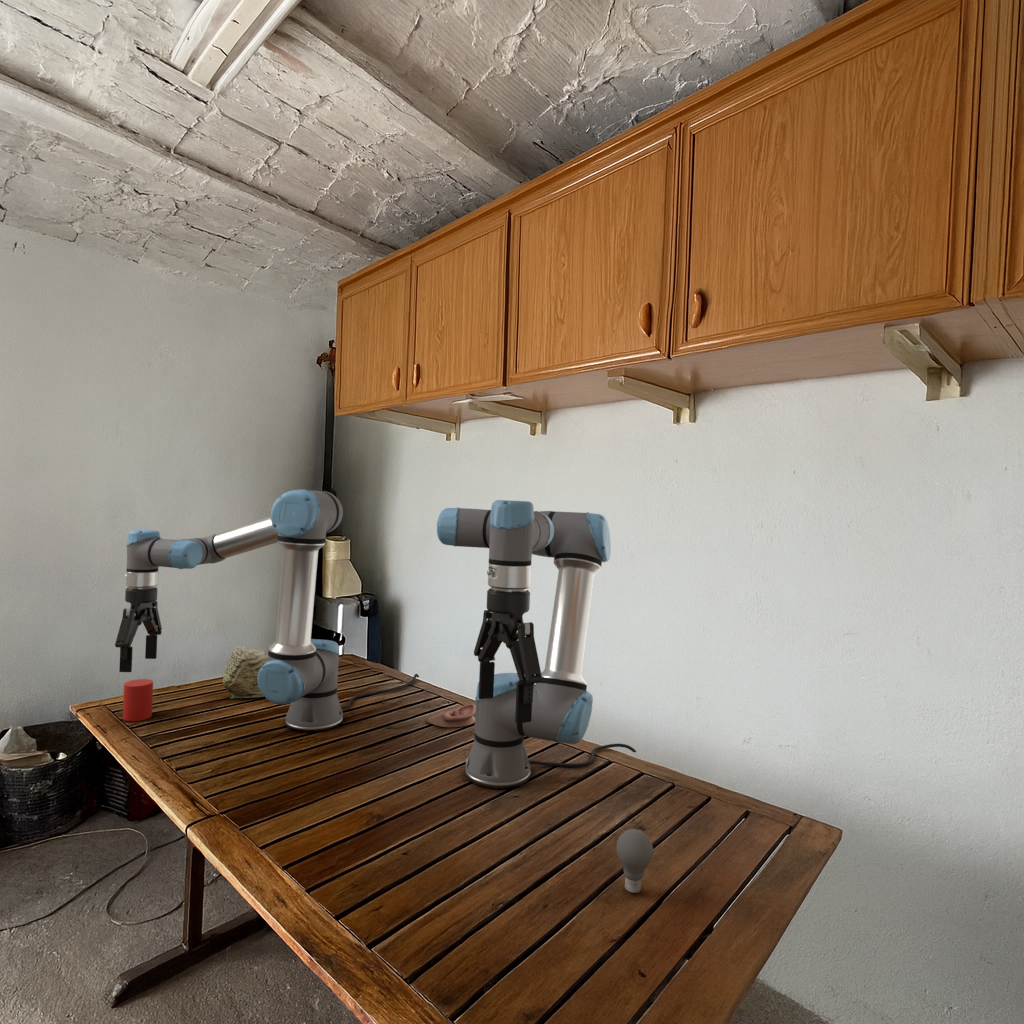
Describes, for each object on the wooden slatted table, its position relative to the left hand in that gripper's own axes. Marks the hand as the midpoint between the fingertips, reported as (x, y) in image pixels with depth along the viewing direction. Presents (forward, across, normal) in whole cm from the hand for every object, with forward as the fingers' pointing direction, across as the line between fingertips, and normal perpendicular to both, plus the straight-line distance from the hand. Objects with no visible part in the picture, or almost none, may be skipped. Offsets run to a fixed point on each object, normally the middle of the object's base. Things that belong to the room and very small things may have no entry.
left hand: (138, 665), depth 172 cm
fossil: (+15, -24, +24) cm, 37 cm away
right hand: (-13, +69, +94) cm, 117 cm away
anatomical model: (+15, -3, +85) cm, 87 cm away
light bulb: (+14, +76, +116) cm, 140 cm away
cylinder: (+15, -3, -1) cm, 16 cm away
